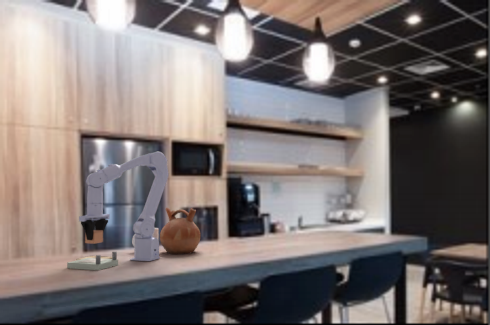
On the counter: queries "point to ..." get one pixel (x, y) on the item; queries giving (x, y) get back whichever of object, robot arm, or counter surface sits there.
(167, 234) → the jug
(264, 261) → the counter surface
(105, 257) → the pallet
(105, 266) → the dock
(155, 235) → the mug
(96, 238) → the orange block
